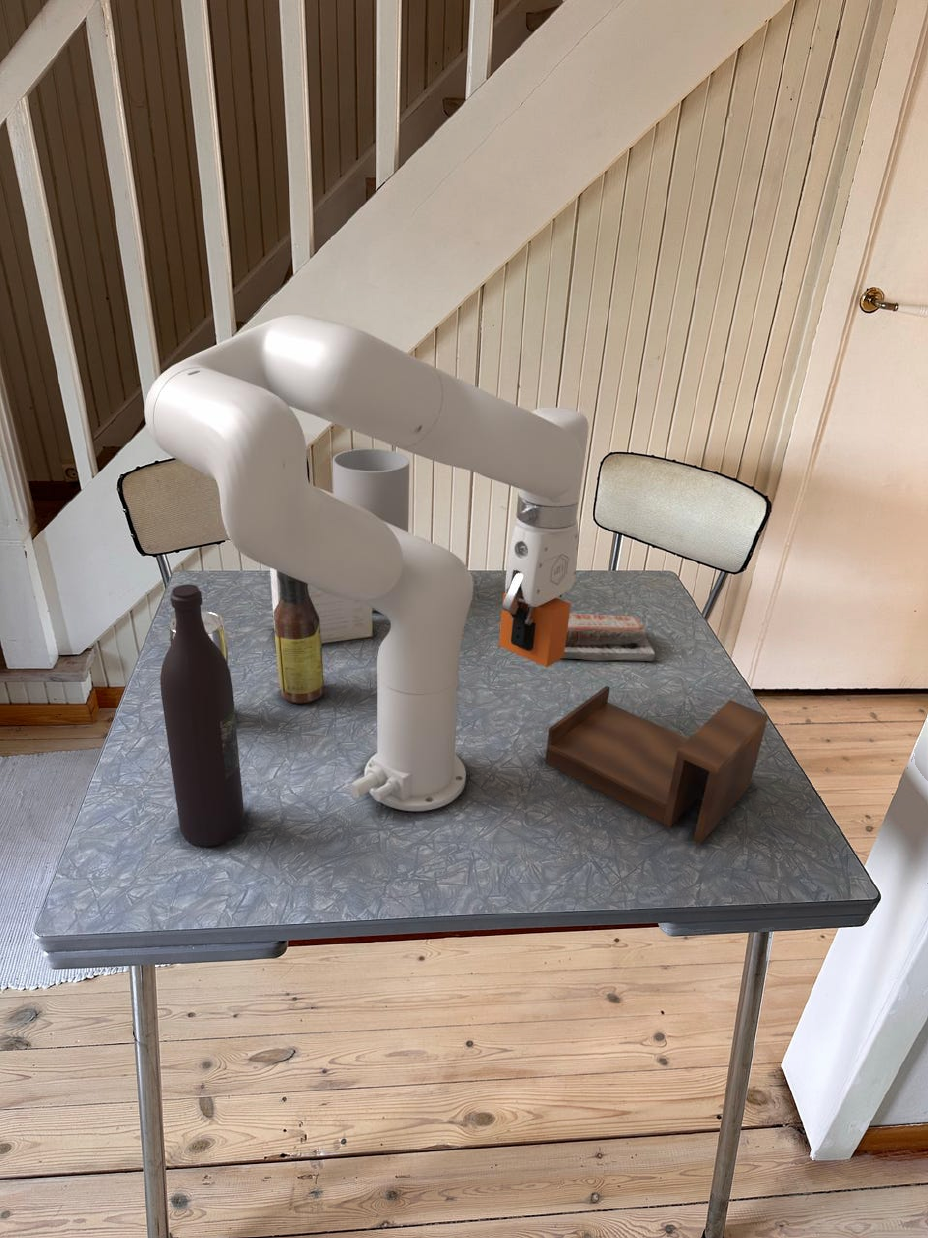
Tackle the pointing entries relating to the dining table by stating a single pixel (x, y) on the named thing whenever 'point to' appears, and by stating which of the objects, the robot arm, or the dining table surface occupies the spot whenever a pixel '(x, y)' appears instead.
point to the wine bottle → (201, 728)
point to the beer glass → (209, 630)
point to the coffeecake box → (333, 613)
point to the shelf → (659, 759)
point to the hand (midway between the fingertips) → (532, 639)
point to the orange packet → (540, 632)
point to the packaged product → (606, 638)
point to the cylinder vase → (374, 483)
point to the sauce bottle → (298, 642)
